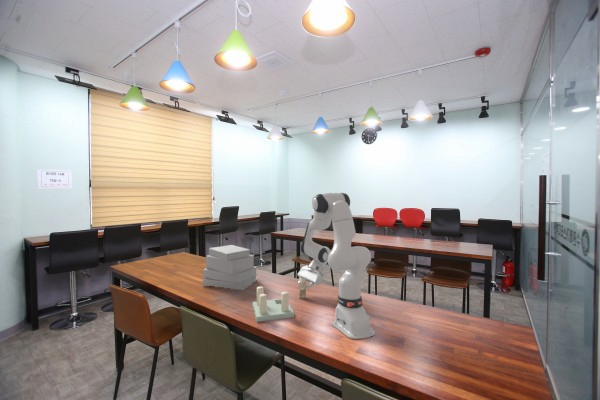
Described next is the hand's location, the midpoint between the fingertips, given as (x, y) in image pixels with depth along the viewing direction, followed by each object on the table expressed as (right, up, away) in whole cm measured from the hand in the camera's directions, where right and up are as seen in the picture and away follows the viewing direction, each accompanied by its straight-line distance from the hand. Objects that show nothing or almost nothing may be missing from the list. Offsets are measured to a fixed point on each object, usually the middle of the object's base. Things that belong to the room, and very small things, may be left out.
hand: (302, 286), depth 169 cm
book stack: (-53, -7, +28) cm, 60 cm away
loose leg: (0, -7, 0) cm, 7 cm away
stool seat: (-17, -8, -20) cm, 27 cm away
